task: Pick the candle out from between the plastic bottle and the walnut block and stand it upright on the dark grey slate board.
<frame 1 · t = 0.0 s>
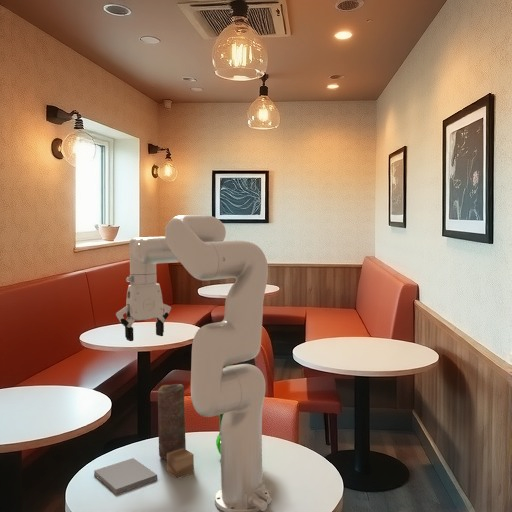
hand: (145, 337, 154), 31 cm above the table, tool pointing down, fingers open, 9 cm apart
walnut block: (180, 472, 136), on the table
slate board: (125, 477, 133), on the table
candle: (172, 458, 145), on the table
plastic bottle: (234, 457, 145), on the table
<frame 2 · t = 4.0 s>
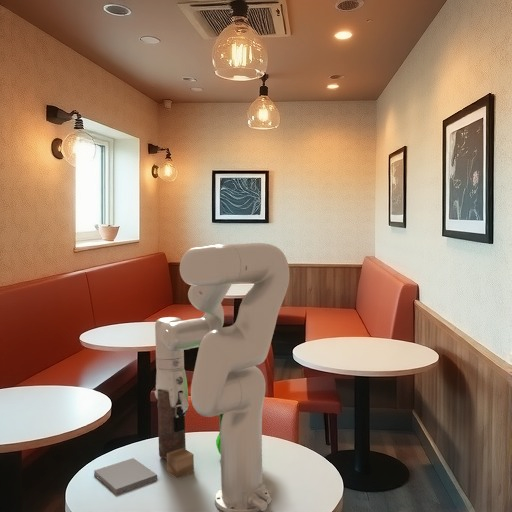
hand: (171, 426, 144), 9 cm above the table, tool pointing down, fingers closed on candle, 7 cm apart
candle: (172, 458, 145), on the table, touching gripper
everything else where it was.
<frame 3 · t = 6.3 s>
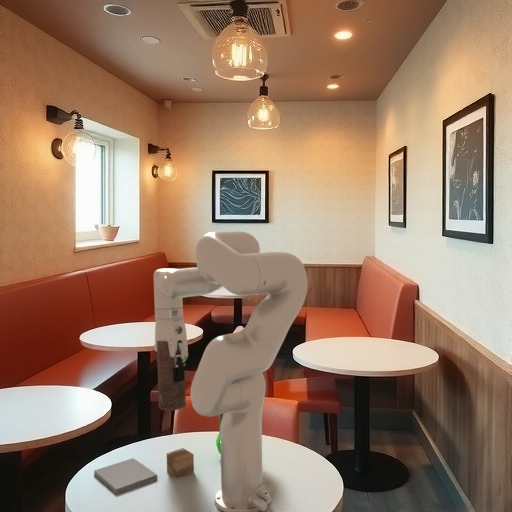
hand: (171, 378, 143), 22 cm above the table, tool pointing down, fingers closed on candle, 7 cm apart
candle: (172, 410, 143), point 13 cm above the table, touching gripper
everything else where it was.
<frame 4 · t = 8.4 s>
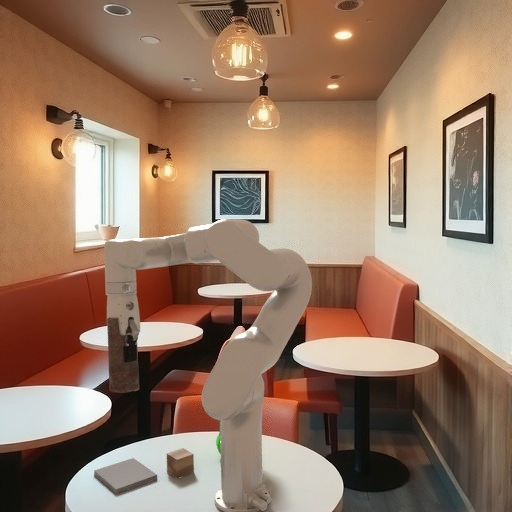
hand: (123, 357, 132), 31 cm above the table, tool pointing down, fingers closed on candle, 7 cm apart
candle: (124, 393, 133), point 22 cm above the table, touching gripper
everything else where it was.
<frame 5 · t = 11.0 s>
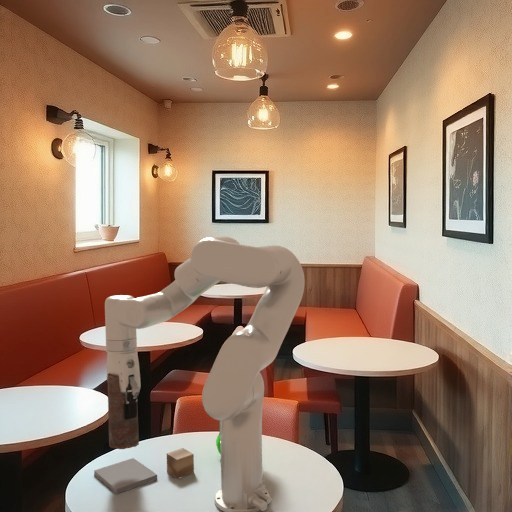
hand: (123, 413, 133), 17 cm above the table, tool pointing down, fingers closed on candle, 7 cm apart
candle: (124, 448, 133), point 7 cm above the table, touching gripper
everything else where it was.
when the fingers open (11 cm above the table, at t = 13.1 s): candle drops 1 cm, resting on slate board.
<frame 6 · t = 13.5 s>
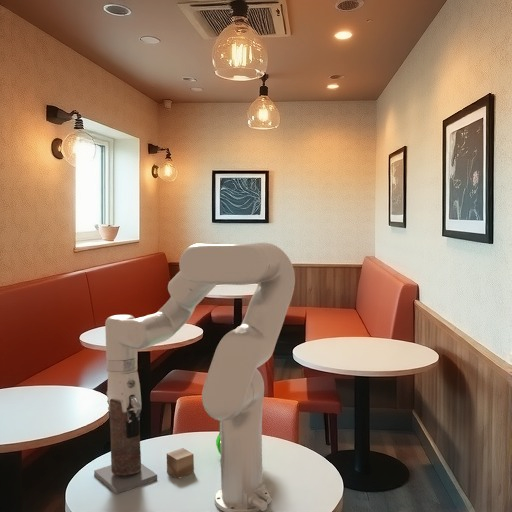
hand: (124, 431, 133), 12 cm above the table, tool pointing down, fingers open, 9 cm apart
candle: (126, 473, 133), point 1 cm above the table, touching slate board
everything else where it was.
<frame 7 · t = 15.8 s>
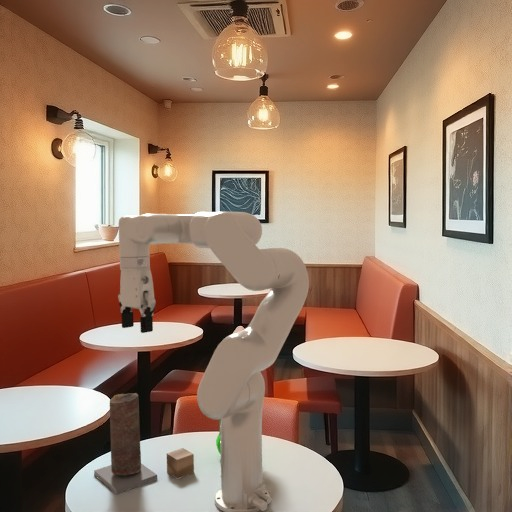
hand: (137, 329, 136), 37 cm above the table, tool pointing down, fingers open, 9 cm apart
nothing on the table moved.
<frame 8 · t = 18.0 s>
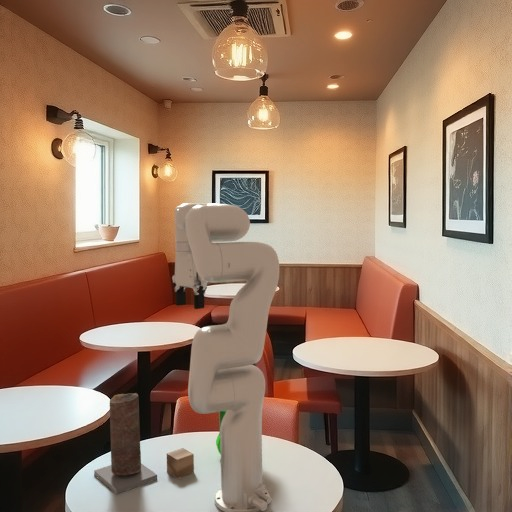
hand: (189, 306, 153), 40 cm above the table, tool pointing down, fingers open, 9 cm apart
nothing on the table moved.
at the end: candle inside the target area on the slate board (0.4 cm from its centre), point 1.0 cm above the slate board's base; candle tilted 0°; the gripper is holding nothing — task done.
